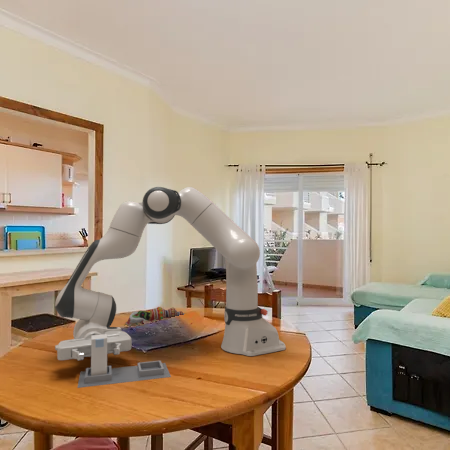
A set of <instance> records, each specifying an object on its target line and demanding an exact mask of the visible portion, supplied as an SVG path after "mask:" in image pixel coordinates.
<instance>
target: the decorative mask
mask: <svg viewBox="0 0 450 450" xmlns="http://www.w3.org/2000/svg"><path fill="white" fill-rule="evenodd" d="M184 314H186V313H185V312H183V311H181V310H180V311H177V309H176V308H175V307H174V306H173V307H170V308H168V309H164V307H161V306H157V307H155V308H151V309H146V310H138V311H133V312H132V313H131V314H129V318H128V319H127V321H126V322H125V323H124V326H125V325H127V326H129V327H131V326H137V325H140V324H144V323H149V322H154V321H158V320H162V319H167V318H171V317H175V316H179V315H184Z"/></svg>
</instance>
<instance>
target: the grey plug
mask: <svg viewBox="0 0 450 450" xmlns="http://www.w3.org/2000/svg"><path fill="white" fill-rule="evenodd" d="M107 366H108V354H107V334H102V335H91V357H90V368H91V376H94V375H104V374H107Z"/></svg>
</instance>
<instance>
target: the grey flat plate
mask: <svg viewBox="0 0 450 450" xmlns="http://www.w3.org/2000/svg"><path fill="white" fill-rule="evenodd" d="M165 378H172V376H171V373H170V371H169V369H168V367H167V364H166V362H162V360H152V361H143V362H137V365H133V366H132V365H131V366H122V367H121V366H120V367H113V368H112V365H107V374H104V375H94V376H91V367H86V368H85V370H82V371H80V372H79V376H78V382H77V383H78V384H77V389H81V388H89V387H95V386H97V387H99V386H104V385H114V384H123V383H131V382H140V381H148V380H157V379H165Z"/></svg>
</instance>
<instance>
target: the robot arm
mask: <svg viewBox="0 0 450 450" xmlns="http://www.w3.org/2000/svg"><path fill="white" fill-rule="evenodd" d="M175 216H179V217H181V218H183V219H184V220H186V222H188V223H189V224H190V225H191V226H192V227H193V229H195V230H196V231H197V232H198V233H199V234H200V235H201V236H202V237H203V238H204V239H205V240H206V241H207V242H209V244H210V245H211V246H213V248H214V249H215V250H216V251H217V252H218V253H219V254H220V255H222V257H223V258H225V261H226V263H225V267H226V269H225V272H226V273H225V275H226V279H225V281H226V282H225V284H226V289H225V290H226V291H225V296H226V297H225V307H224V318H223V319H224V323H225V324H224V331H223V338H222V342H221V345H220V347H221V349H222V350H223V351H225V352H227V353H231V354H238V355H244V356H247V357H255V356H260V355H265V354H270V353H276V352H279V351H280V352H281V351H285V350H286V344H285V342H284V341H282V340H280V337H279V333H278V330H277V328H276V326H274V325H273V324H271V323H270V322H269V321H267V320H266V319H265V318H264V317H263V316H267V315H268V310H267V309H265V308H261V307H260V306H258V304H259V303H258V302H259V301H258V297H259V296H258V294H259V287H258V286H259V285H258V284H259V283H258V271H257V270H258V269H257V263H258V262H259V259H260V256H261V252H260V251H261V250H260V247H259V245H258V243H257V241H255V240H254V239H253V238H252V237H251V236H250V235H249V234H248V233H247V232H246V231H244V230H243V228H241V227H240V226H239V225H238V224H237V223H236V222H234V221H233V220H232V218H230V217H229V216H228V215H227V214H226V213H225V212H224V211H223V210H222V209H221V208H219V206H217V205H216V203H214V202H213V201H212V200H211V199H210V198H208V197H207V196H206V195H205V194H204V193H203V192H201V191H199V190H198V189H196V188H195V187H193V186H186V187H185V188H182V189H181V190H180V191H177V190H175V189H171V188H167V187H164V186H163V187H162V186H154V187H151V188H150V189H149V190H147V191H146V192H145V193H144V195H143V197H142V201H141V202H136V201H133V200H128V201H123V202H122V203H121V204H120V205H119V207H118V208H117V210H116V211H115V214H114V215H113V218H112V220H111V222H110V224H109V226H108V229H107V231H106V232H105V234H104V235H103V236H102V237H101V238H99V239H95V240H94V241H92V243H90V245H89V246H88V248H87V250H86V251H85V253H84V254H83V255H82V257H81V259H79V262H78V264H77V265H76V267H75V269H74V271H73V272H72V274H71V275H70V277H69V279H68V281H67V282H66V283H65V285H64V287H63V288H61V290H60V292H58V294H57V297H56V299H55V302H54V304H55V305H54V308H55V310H56V312H57V313H58V315H59V316H60V317H61V318H67V319H68V318H69V319H77V321H76V323H75V325H74V327H73V338H72V339H65V340H60V342H59V343H58V344H55V345H54V350H55V351H57V352H56V355H57V360H58V361H68V360H77V361H84V359H85V358H91V335H102V334H107V355H108V354H113V355H114V356H116V355H117V356H118V355H120V353H121V352H128V351H130V350H131V349H132V343H133V342H132V337H131V336H130V335H129V334H128V333H127V332H126V331H124V330H122V328H121V327H120V326H112V324H113V322H114V320H115V318H116V317H115V316H116V314H117V304H116V300H115V298H114V297H113V295H111V294H108V293H104V292H99V291H96V290H95V291H94V290H92V289H89V288H84V287H82V285H83V284H84V281H85V280H86V278H87V276H88V275H89V273H90V272H91V270H92V268H93V266H94V265H95V264H96V263H98V262H101V261H104V260H118V259H119V260H120V259H124V258H127V257H129V256H131V255H132V254H133V253H135V252H136V250H137V248H138V246H139V245H140V244H139V243H140V241H141V238H142V236H143V233H144V230H145V228H146V226H147V224H148V225H149V224H151V225H164V224H167V223H169V222H171V221H172V220H173V219H174V218H175Z"/></svg>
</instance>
